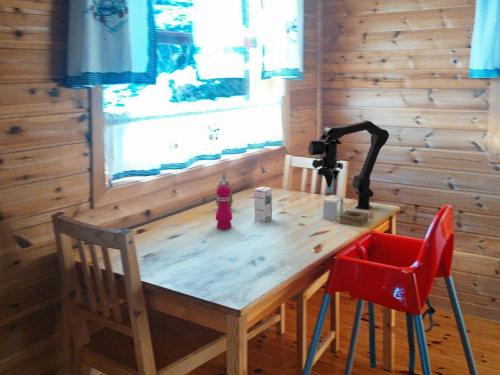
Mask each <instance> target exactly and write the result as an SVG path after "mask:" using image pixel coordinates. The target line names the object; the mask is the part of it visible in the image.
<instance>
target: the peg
mask: <svg viewBox="0 0 500 375" xmlns="http://www.w3.org/2000/svg"><path fill="white" fill-rule="evenodd" d="M334 190H335V182H334V178H333V181H332V184H331V186H330V187H328V186H327V185H326V193H327V194H334V192H335V191H334Z"/></svg>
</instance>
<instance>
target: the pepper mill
mask: <svg viewBox="0 0 500 375" xmlns="http://www.w3.org/2000/svg"><path fill="white" fill-rule="evenodd" d="M225 184H226V183H225V182H222V183H221V186H219V187H218V188H217V187H216V196H217V195H218V200H219V208H218V207H217V208H218V209H217V211H216V213H215V220H216V228H217V229H220V230H228V229H230V228H232V220H233V214H232V211H231V209H229V204H228V202H229V200H230V199H229V198H230V197H229V195H230V193H231V190H232V189H231V190H230V188H229V187H228V186H226V185H225Z"/></svg>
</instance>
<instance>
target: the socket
mask: <svg viewBox="0 0 500 375" xmlns="http://www.w3.org/2000/svg"><path fill="white" fill-rule="evenodd" d="M367 222H369V213H368V212H361V211H355V210H345V211H343V214H342V215H340V214H339V224H340V225H346V226H354V227H363V226H364V225H365V224H366V223H367Z"/></svg>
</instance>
